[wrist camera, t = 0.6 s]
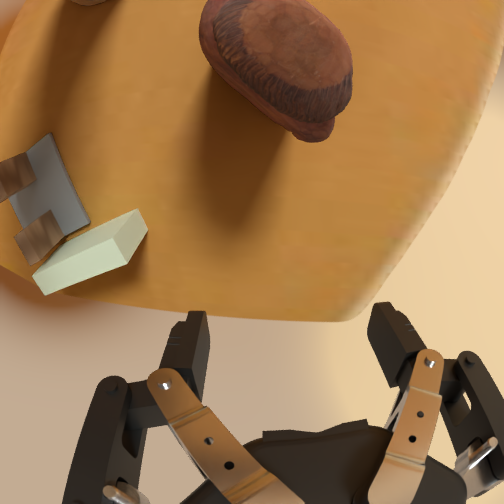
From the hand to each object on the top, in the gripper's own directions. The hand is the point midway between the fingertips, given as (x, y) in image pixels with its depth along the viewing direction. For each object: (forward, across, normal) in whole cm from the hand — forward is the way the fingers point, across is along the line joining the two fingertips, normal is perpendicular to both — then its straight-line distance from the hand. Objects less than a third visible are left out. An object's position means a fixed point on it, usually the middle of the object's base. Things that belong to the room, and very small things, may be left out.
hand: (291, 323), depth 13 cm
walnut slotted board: (+19, +30, -4) cm, 36 cm away
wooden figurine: (+20, 0, -14) cm, 24 cm away
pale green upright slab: (+20, +22, +3) cm, 30 cm away
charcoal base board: (+19, +30, -4) cm, 36 cm away
